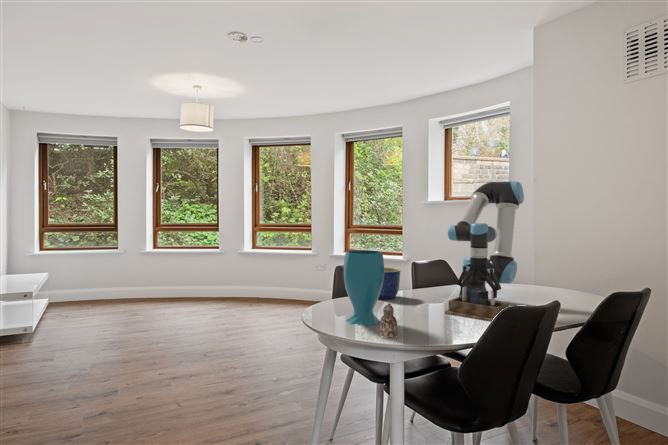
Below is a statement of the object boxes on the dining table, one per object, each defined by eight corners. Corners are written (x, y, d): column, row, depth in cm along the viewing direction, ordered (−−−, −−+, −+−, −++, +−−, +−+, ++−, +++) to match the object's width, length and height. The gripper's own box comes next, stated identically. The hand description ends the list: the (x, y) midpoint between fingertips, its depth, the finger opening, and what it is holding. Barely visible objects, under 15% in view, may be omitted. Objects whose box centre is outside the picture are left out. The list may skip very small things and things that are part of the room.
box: (488, 314, 204) (488, 291, 204) (478, 315, 202) (478, 291, 202) (477, 310, 211) (477, 287, 211) (467, 311, 209) (467, 288, 209)
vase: (372, 328, 182) (372, 255, 181) (335, 322, 191) (336, 252, 190) (389, 319, 197) (390, 251, 196) (355, 314, 206) (356, 249, 205)
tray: (444, 313, 209) (445, 300, 208) (459, 307, 221) (459, 295, 221) (498, 322, 193) (498, 309, 192) (511, 316, 205) (511, 302, 205)
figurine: (376, 337, 171) (377, 305, 170) (381, 332, 178) (382, 302, 177) (395, 339, 168) (395, 307, 168) (399, 334, 175) (399, 303, 175)
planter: (405, 296, 247) (405, 269, 246) (391, 302, 233) (392, 272, 232) (377, 293, 256) (377, 266, 256) (363, 298, 242) (363, 270, 241)
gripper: (449, 255, 211) (449, 300, 212) (503, 260, 195) (502, 308, 196) (456, 254, 217) (456, 297, 218) (509, 258, 201) (508, 305, 202)
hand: (478, 302), depth 207 cm, fingers open, 13 cm apart
